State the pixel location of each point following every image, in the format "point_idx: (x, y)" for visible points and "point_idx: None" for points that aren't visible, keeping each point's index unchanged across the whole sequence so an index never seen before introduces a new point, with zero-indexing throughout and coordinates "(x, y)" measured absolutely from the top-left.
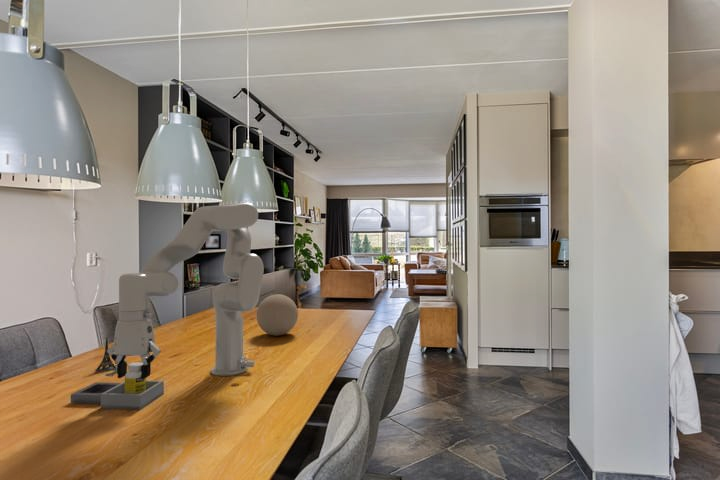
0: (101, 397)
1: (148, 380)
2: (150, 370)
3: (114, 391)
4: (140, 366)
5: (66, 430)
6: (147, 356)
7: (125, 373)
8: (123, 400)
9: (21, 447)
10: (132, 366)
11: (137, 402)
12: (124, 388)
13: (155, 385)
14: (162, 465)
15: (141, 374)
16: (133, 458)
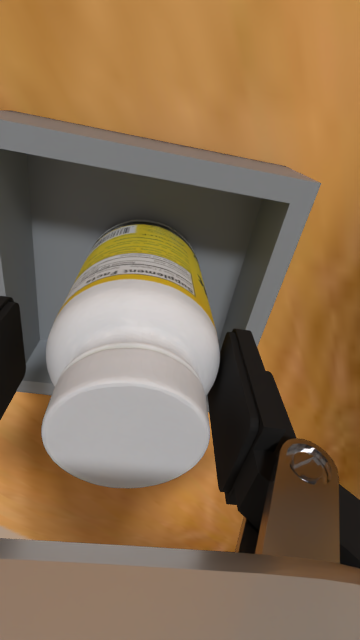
0: None
1: (179, 157)
2: (276, 387)
3: (17, 302)
4: (196, 457)
5: (53, 467)
6: (287, 539)
7: (13, 326)
8: None
9: (16, 517)
10: (127, 487)
11: None
12: (14, 195)
13: (274, 285)
14: None
15: (211, 419)
16: None
